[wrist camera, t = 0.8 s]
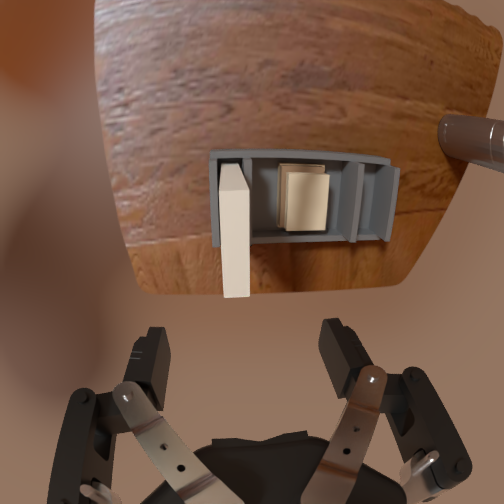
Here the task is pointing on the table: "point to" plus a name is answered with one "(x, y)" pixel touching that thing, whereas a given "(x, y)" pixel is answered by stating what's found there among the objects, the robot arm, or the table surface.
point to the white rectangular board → (234, 231)
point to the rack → (339, 195)
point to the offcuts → (302, 196)
